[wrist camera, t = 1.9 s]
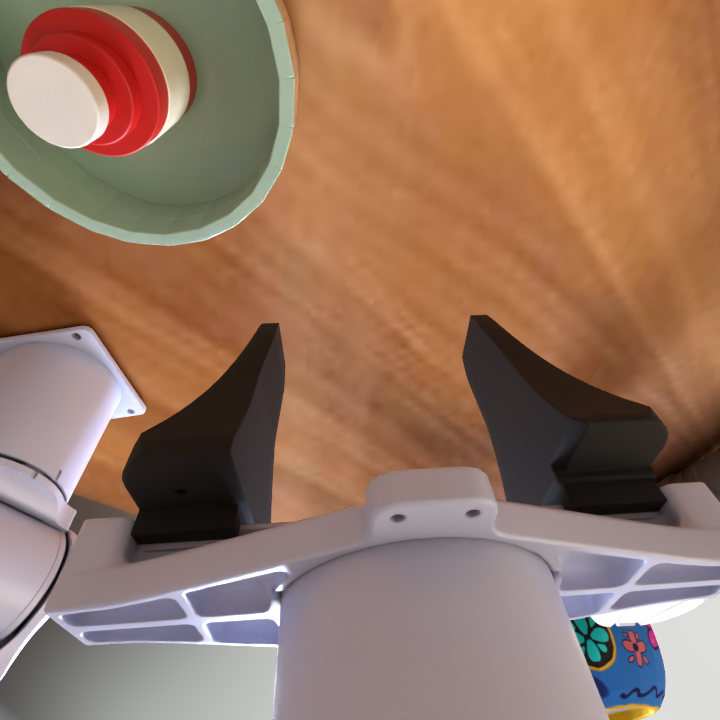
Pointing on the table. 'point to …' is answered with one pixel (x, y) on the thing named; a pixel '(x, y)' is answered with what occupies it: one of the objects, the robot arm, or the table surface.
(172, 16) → the pan
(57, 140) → the sauce bottle
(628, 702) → the ceramic pot
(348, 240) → the table surface
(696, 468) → the flashlight
